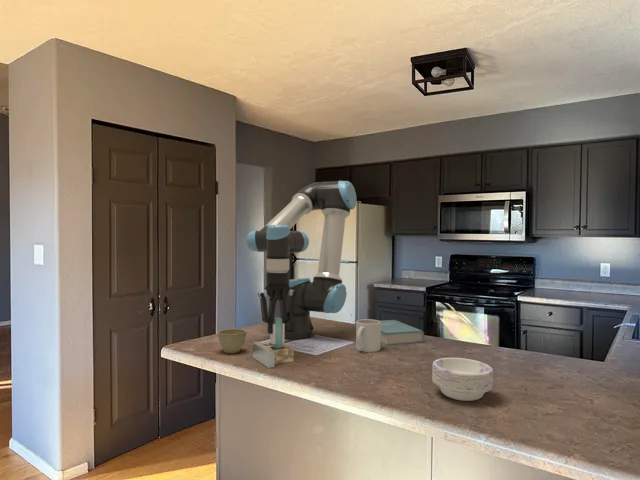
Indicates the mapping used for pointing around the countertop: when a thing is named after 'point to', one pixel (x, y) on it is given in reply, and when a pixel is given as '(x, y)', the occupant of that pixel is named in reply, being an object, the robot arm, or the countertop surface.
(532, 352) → the countertop surface
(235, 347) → the flower pot
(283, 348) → the block
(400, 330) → the book
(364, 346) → the mug
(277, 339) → the dowel
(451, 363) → the paper bowls
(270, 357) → the backstop rail
